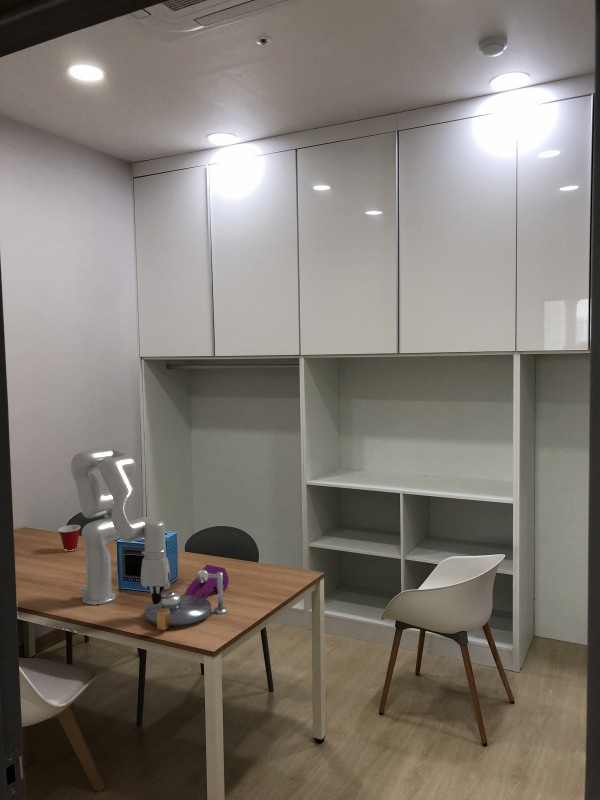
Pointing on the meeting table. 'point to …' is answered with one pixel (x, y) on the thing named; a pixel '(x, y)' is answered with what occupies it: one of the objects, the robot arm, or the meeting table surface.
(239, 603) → the meeting table surface
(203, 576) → the dial post
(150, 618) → the turntable
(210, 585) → the mounting bracket
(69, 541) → the plastic cup
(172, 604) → the cover
